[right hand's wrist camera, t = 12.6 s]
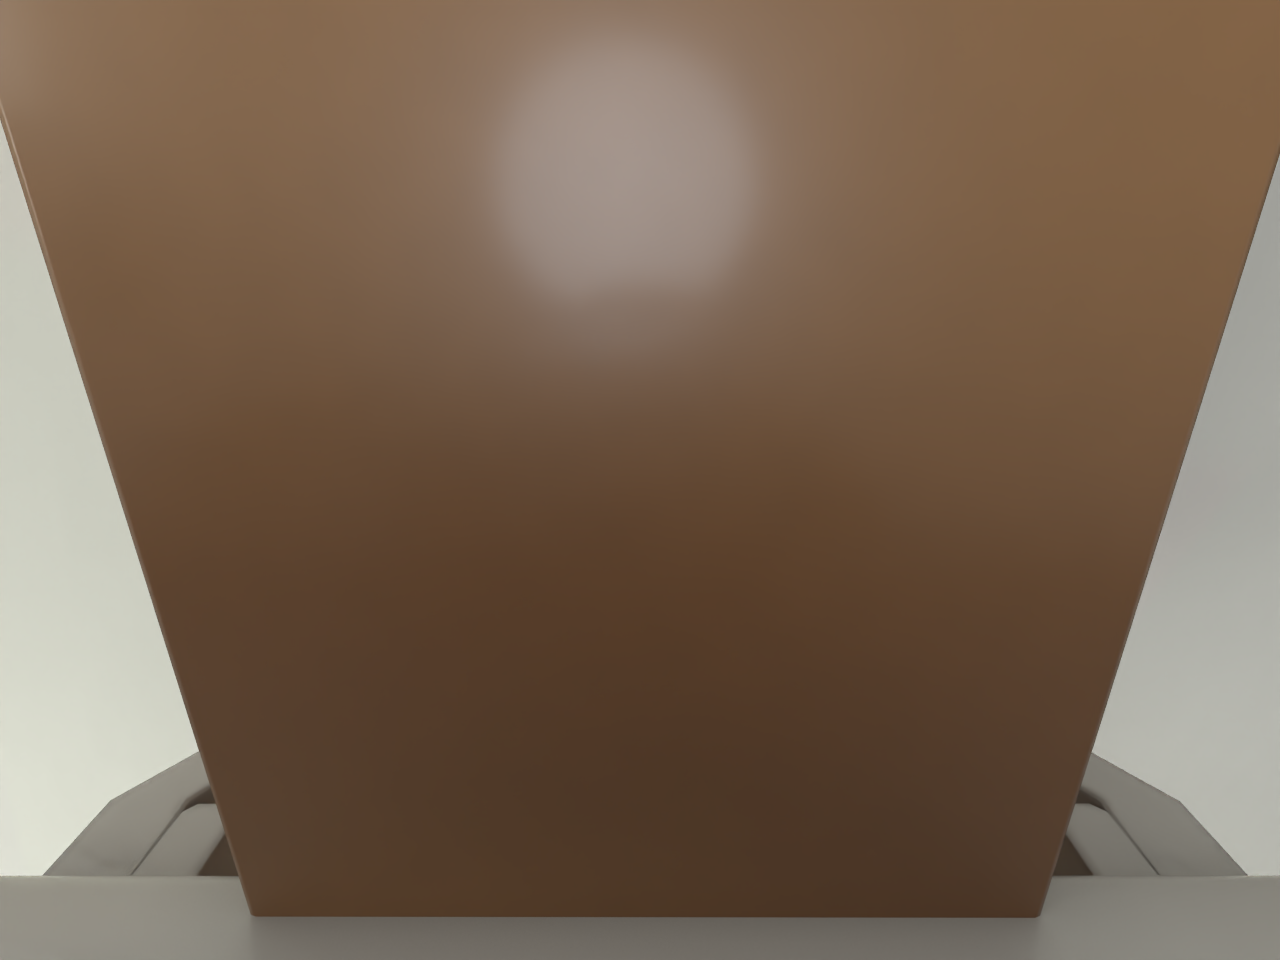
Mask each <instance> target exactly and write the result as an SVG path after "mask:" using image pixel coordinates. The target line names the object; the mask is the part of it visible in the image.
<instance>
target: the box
mask: <svg viewBox="0 0 1280 960" xmlns="http://www.w3.org/2000/svg"><path fill="white" fill-rule="evenodd" d="M0 120H1V123H2V126H3V129H4V132H5V135H6V139H7V142H8V145H9V148H10V151H11V154H12V158H13V161H14V164H15V167H16V170H17V174H18V177H19V180H20V183H21V186H22V189H23V193H24V196H25V199H26V202H27V205H28V209H29V212H30V215H31V218H32V221H33V224H34V228H35V231H36V234H37V237H38V240H39V243H40V247H41V250H42V253H43V256H44V259H45V263H46V266H47V269H48V272H49V275H50V278H51V282H52V285H53V288H54V291H55V294H56V298H57V301H58V304H59V307H60V310H61V313H62V317H63V320H64V323H65V326H66V329H67V332H68V336H69V339H70V342H71V345H72V348H73V352H74V355H75V358H76V361H77V364H78V367H79V371H80V374H81V377H82V380H83V383H84V386H85V390H86V393H87V396H88V399H89V402H90V406H91V409H92V412H93V415H94V418H95V421H96V425H97V428H98V431H99V434H100V437H101V441H102V444H103V447H104V450H105V453H106V456H107V460H108V463H109V466H110V469H111V472H112V475H113V479H114V482H115V485H116V488H117V491H118V495H119V498H120V501H121V504H122V507H123V510H124V514H125V517H126V520H127V523H128V526H129V530H130V533H131V536H132V539H133V542H134V545H135V549H136V552H137V555H138V558H139V561H140V564H141V568H142V571H143V574H144V577H145V580H146V584H147V587H148V590H149V593H150V596H151V599H152V603H153V606H154V609H155V612H156V615H157V619H158V622H159V625H160V628H161V631H162V634H163V638H164V641H165V644H166V647H167V650H168V653H169V657H170V660H171V663H172V666H173V669H174V673H175V676H176V679H177V682H178V685H179V688H180V692H181V695H182V698H183V701H184V704H185V708H186V711H187V714H188V717H189V720H190V723H191V727H192V730H193V733H194V736H195V739H196V742H197V746H198V749H199V752H200V755H201V758H202V762H203V765H204V768H205V771H206V774H207V777H208V781H209V784H210V787H211V790H212V793H213V797H214V800H215V803H216V806H217V809H218V812H219V816H220V819H221V822H222V825H223V828H224V831H225V835H226V838H227V841H228V844H229V847H230V851H231V854H232V857H233V860H234V863H235V866H236V870H237V873H238V876H239V879H240V882H241V886H242V889H243V892H244V895H245V898H246V901H247V905H248V908H249V911H250V914H251V915H253V916H255V917H807V918H1036V917H1038V916H1040V914H1041V911H1042V908H1043V905H1044V902H1045V898H1046V895H1047V892H1048V889H1049V886H1050V883H1051V879H1052V876H1053V873H1054V870H1055V867H1056V863H1057V860H1058V857H1059V854H1060V851H1061V848H1062V844H1063V841H1064V838H1065V835H1066V832H1067V828H1068V825H1069V822H1070V819H1071V816H1072V813H1073V809H1074V806H1075V803H1076V800H1077V797H1078V793H1079V790H1080V787H1081V784H1082V781H1083V778H1084V774H1085V771H1086V768H1087V765H1088V762H1089V758H1090V755H1091V752H1092V749H1093V746H1094V743H1095V739H1096V736H1097V733H1098V730H1099V727H1100V724H1101V720H1102V717H1103V714H1104V711H1105V708H1106V704H1107V701H1108V698H1109V695H1110V692H1111V689H1112V685H1113V682H1114V679H1115V676H1116V673H1117V669H1118V666H1119V663H1120V660H1121V657H1122V654H1123V650H1124V647H1125V644H1126V641H1127V638H1128V634H1129V631H1130V628H1131V625H1132V622H1133V619H1134V615H1135V612H1136V609H1137V606H1138V603H1139V599H1140V596H1141V593H1142V590H1143V587H1144V584H1145V580H1146V577H1147V574H1148V571H1149V568H1150V564H1151V561H1152V558H1153V555H1154V552H1155V549H1156V545H1157V542H1158V539H1159V536H1160V533H1161V530H1162V526H1163V523H1164V520H1165V517H1166V514H1167V510H1168V507H1169V504H1170V501H1171V498H1172V495H1173V491H1174V488H1175V485H1176V482H1177V479H1178V475H1179V472H1180V469H1181V466H1182V463H1183V460H1184V456H1185V453H1186V450H1187V447H1188V444H1189V440H1190V437H1191V434H1192V431H1193V428H1194V425H1195V421H1196V418H1197V415H1198V412H1199V409H1200V405H1201V402H1202V399H1203V396H1204V393H1205V390H1206V386H1207V383H1208V380H1209V377H1210V374H1211V370H1212V367H1213V364H1214V361H1215V358H1216V355H1217V351H1218V348H1219V345H1220V342H1221V339H1222V336H1223V332H1224V329H1225V326H1226V323H1227V320H1228V316H1229V313H1230V310H1231V307H1232V304H1233V301H1234V297H1235V294H1236V291H1237V288H1238V285H1239V281H1240V278H1241V275H1242V272H1243V269H1244V266H1245V262H1246V259H1247V256H1248V253H1249V250H1250V246H1251V243H1252V240H1253V237H1254V234H1255V231H1256V227H1257V224H1258V221H1259V218H1260V215H1261V211H1262V208H1263V205H1264V202H1265V199H1266V196H1267V192H1268V189H1269V186H1270V183H1271V180H1272V176H1273V173H1274V170H1275V167H1276V164H1277V161H1278V157H1279V154H1280V0H0Z"/></svg>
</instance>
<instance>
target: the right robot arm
mask: <svg viewBox="0 0 1280 960" xmlns="http://www.w3.org/2000/svg"><path fill="white" fill-rule="evenodd" d="M0 960H1280V876H1248V875H1247V874H1246V873H1245V872H1244V871H1243V870H1242V869H1241V867H1240V866H1239V865H1238V864H1237V863H1236V862H1235V861H1234V860H1233V859H1232V858H1231V857H1230V855H1229V854H1228V853H1227V852H1226V851H1225V850H1224V849H1223V848H1222V847H1221V846H1220V845H1219V843H1218V842H1217V841H1216V840H1215V839H1214V838H1213V837H1212V836H1211V835H1210V834H1209V833H1208V831H1207V830H1206V829H1205V828H1204V827H1203V826H1202V825H1201V824H1200V823H1199V822H1198V821H1197V819H1196V818H1195V817H1194V816H1193V815H1192V814H1191V813H1190V812H1189V811H1188V810H1187V809H1186V807H1185V806H1184V805H1183V804H1182V803H1181V802H1180V801H1178V800H1176V799H1174V798H1173V797H1171V796H1169V795H1167V794H1165V793H1164V792H1162V791H1160V790H1158V789H1156V788H1155V787H1153V786H1151V785H1149V784H1147V783H1146V782H1144V781H1142V780H1140V779H1138V778H1136V777H1135V776H1133V775H1131V774H1129V773H1127V772H1126V771H1124V770H1122V769H1120V768H1118V767H1117V766H1115V765H1113V764H1111V763H1109V762H1108V761H1106V760H1104V759H1102V758H1100V757H1098V756H1097V755H1095V754H1093V753H1091V755H1090V758H1089V762H1088V765H1087V768H1086V771H1085V774H1084V778H1083V781H1082V784H1081V787H1080V790H1079V793H1078V797H1077V800H1076V803H1075V806H1074V809H1073V813H1072V816H1071V819H1070V822H1069V825H1068V828H1067V832H1066V835H1065V838H1064V841H1063V844H1062V848H1061V851H1060V854H1059V857H1058V860H1057V863H1056V867H1055V870H1054V873H1053V876H1052V879H1051V883H1050V886H1049V889H1048V892H1047V895H1046V898H1045V902H1044V905H1043V908H1042V911H1041V914H1040V916H1038V917H1036V918H807V917H255V916H253V915H251V914H250V911H249V908H248V905H247V901H246V898H245V895H244V892H243V889H242V886H241V882H240V879H239V876H238V873H237V870H236V866H235V863H234V860H233V857H232V854H231V851H230V847H229V844H228V841H227V838H226V835H225V831H224V828H223V825H222V822H221V819H220V816H219V812H218V809H217V806H216V803H215V800H214V797H213V793H212V790H211V787H210V784H209V781H208V777H207V774H206V771H205V768H204V765H203V762H202V758H201V755H200V752H197V753H195V754H193V755H191V756H190V757H188V758H186V759H184V760H182V761H181V762H179V763H177V764H175V765H173V766H172V767H170V768H168V769H166V770H164V771H163V772H161V773H159V774H157V775H155V776H154V777H152V778H150V779H148V780H147V781H145V782H143V783H141V784H139V785H138V786H136V787H134V788H132V789H130V790H129V791H127V792H125V793H123V794H121V795H120V796H118V797H116V798H114V799H112V800H111V801H110V802H109V803H108V804H107V805H106V806H105V807H104V808H103V809H102V810H101V812H100V813H99V814H98V815H97V816H96V817H95V818H94V819H93V820H92V822H91V823H90V824H89V825H88V826H87V827H86V828H85V829H84V830H83V831H82V833H81V834H80V835H79V836H78V837H77V838H76V839H75V840H74V841H73V842H72V844H71V845H70V846H69V847H68V848H67V849H66V850H65V851H64V852H63V854H62V855H61V856H60V857H59V858H58V859H57V860H56V861H55V862H54V863H53V865H52V866H51V867H50V868H49V869H48V870H47V871H46V872H45V873H44V874H43V876H0Z"/></svg>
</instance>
